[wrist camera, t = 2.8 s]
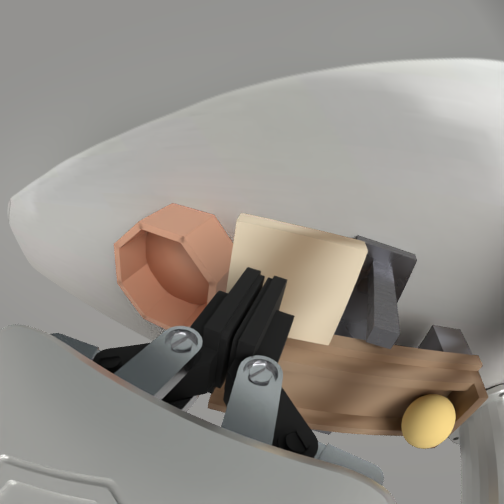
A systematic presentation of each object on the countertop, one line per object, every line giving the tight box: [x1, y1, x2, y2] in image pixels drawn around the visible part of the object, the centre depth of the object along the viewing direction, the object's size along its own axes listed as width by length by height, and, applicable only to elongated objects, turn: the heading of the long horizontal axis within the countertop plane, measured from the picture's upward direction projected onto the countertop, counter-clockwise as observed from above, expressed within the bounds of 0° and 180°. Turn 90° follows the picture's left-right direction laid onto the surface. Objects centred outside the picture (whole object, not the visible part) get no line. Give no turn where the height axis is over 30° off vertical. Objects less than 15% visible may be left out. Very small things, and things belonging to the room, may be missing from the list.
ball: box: [401, 394, 456, 449], centre depth 15 cm, size 4×4×4 cm
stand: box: [311, 236, 417, 434], centre depth 21 cm, size 5×14×9 cm, turn 169°
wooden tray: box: [208, 213, 489, 448], centre depth 17 cm, size 18×14×7 cm
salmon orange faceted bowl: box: [114, 203, 233, 330], centre depth 27 cm, size 10×10×5 cm
